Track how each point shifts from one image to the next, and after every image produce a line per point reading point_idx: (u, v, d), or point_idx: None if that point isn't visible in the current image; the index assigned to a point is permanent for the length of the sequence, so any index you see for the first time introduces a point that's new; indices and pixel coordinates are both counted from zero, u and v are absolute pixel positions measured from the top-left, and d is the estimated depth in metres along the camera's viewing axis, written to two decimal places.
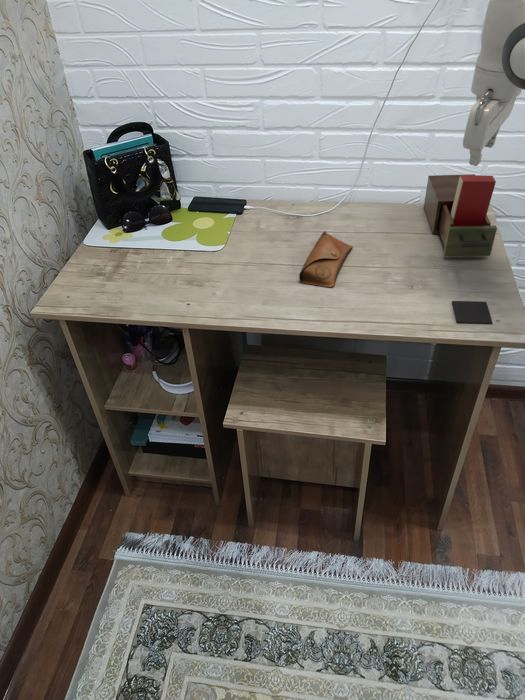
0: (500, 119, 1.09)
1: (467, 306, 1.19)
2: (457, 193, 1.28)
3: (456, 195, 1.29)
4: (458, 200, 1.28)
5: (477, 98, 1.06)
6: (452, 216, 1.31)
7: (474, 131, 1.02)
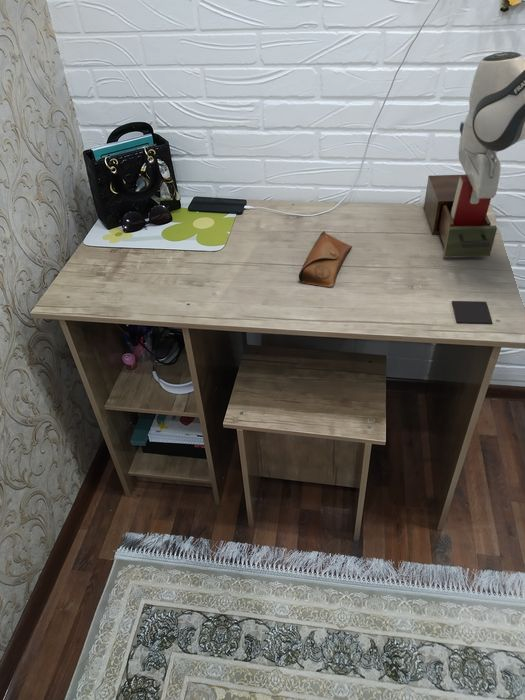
0: None
1: (467, 306, 1.19)
2: (457, 193, 1.28)
3: (456, 195, 1.29)
4: (458, 200, 1.28)
5: (470, 153, 1.20)
6: (452, 216, 1.31)
7: (489, 183, 1.16)
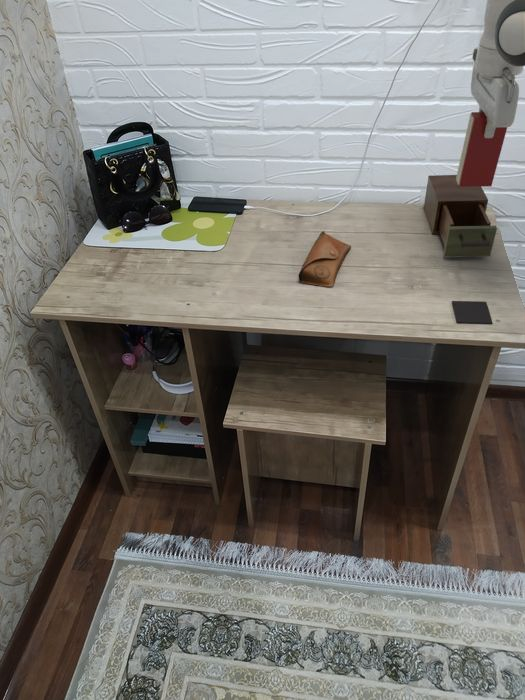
0: None
1: (467, 306, 1.19)
2: (468, 132, 1.19)
3: (467, 135, 1.19)
4: (469, 140, 1.18)
5: (485, 79, 1.10)
6: (462, 159, 1.22)
7: (507, 109, 1.06)
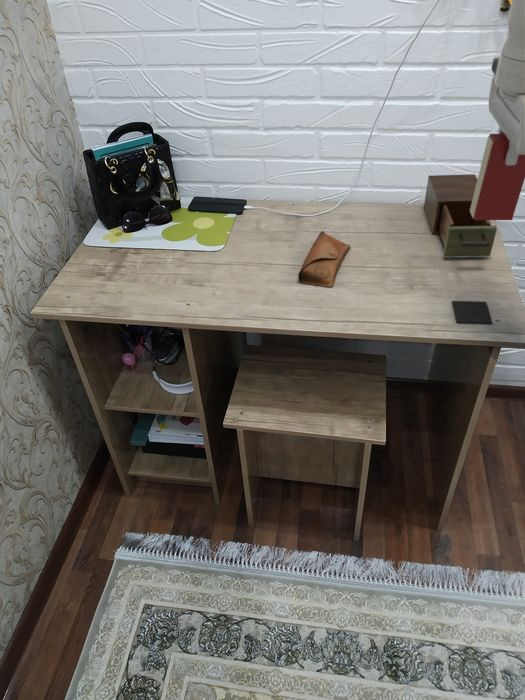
0: None
1: (467, 306, 1.19)
2: (485, 158, 0.99)
3: (484, 160, 1.00)
4: (486, 166, 0.99)
5: (508, 96, 0.91)
6: (478, 188, 1.03)
7: None
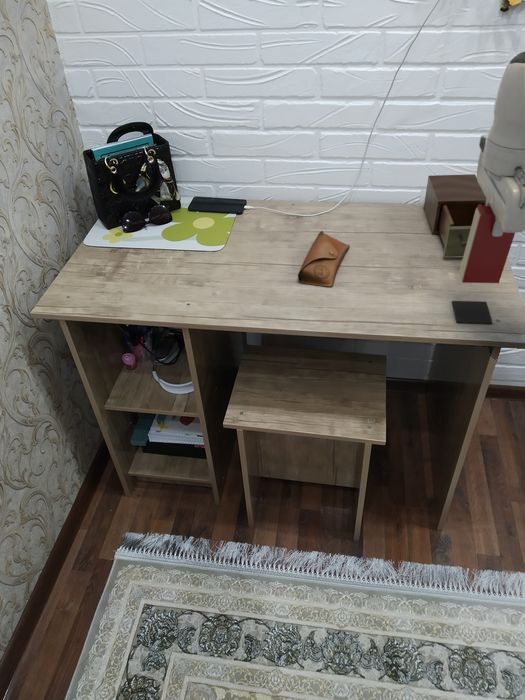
0: None
1: (467, 306, 1.19)
2: (473, 227, 1.05)
3: (472, 230, 1.06)
4: (474, 236, 1.05)
5: (494, 176, 0.96)
6: (467, 254, 1.08)
7: (519, 215, 0.92)
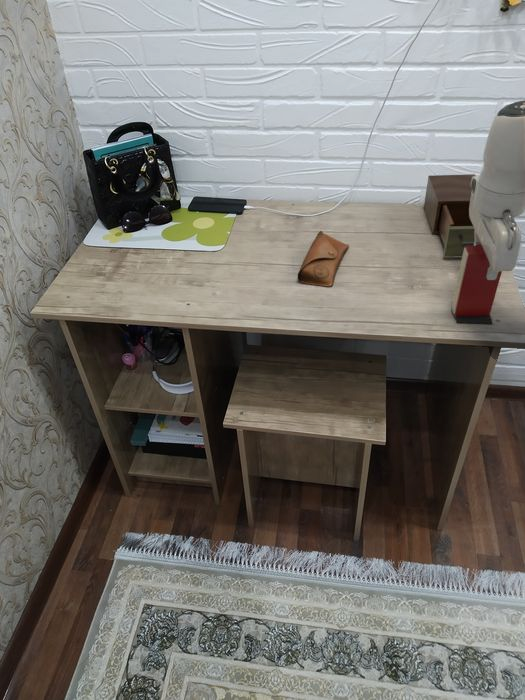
0: None
1: None
2: (462, 266, 1.11)
3: (461, 267, 1.11)
4: (463, 274, 1.10)
5: (484, 217, 1.02)
6: (457, 290, 1.14)
7: (508, 255, 0.97)
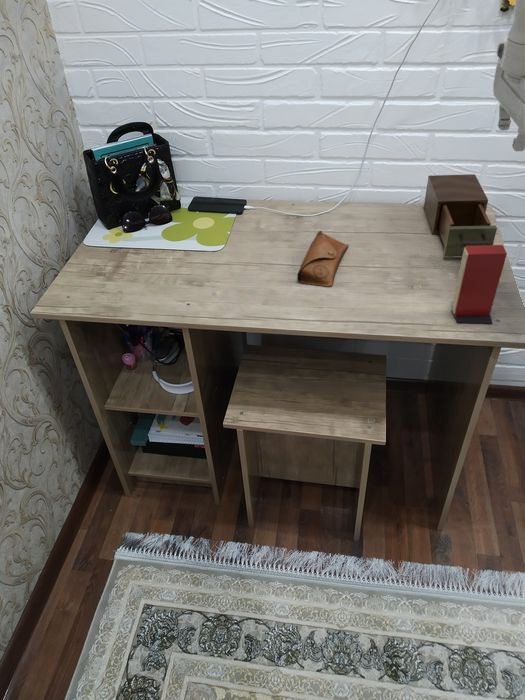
0: None
1: None
2: (462, 266, 1.11)
3: (461, 267, 1.11)
4: (463, 274, 1.10)
5: (513, 79, 0.96)
6: (457, 290, 1.14)
7: None
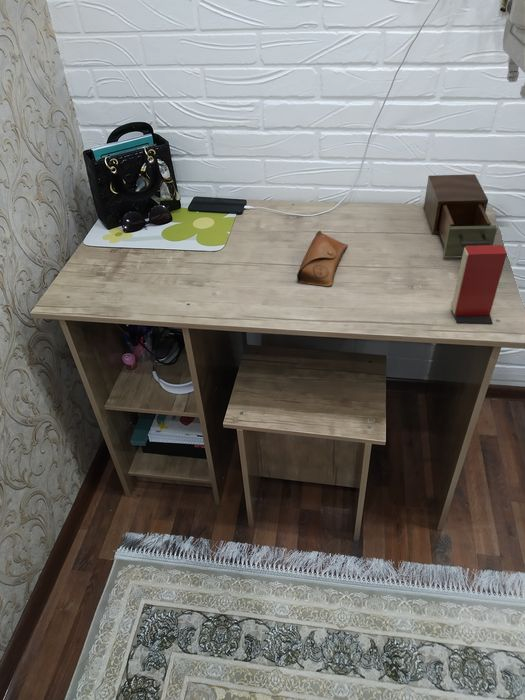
0: None
1: None
2: (462, 266, 1.11)
3: (461, 267, 1.11)
4: (463, 274, 1.10)
5: (521, 30, 1.06)
6: (457, 290, 1.14)
7: None
